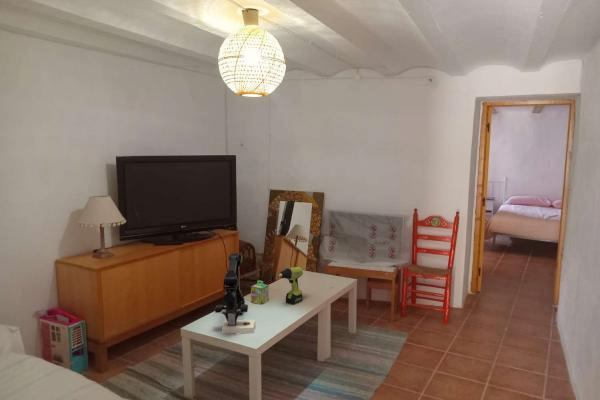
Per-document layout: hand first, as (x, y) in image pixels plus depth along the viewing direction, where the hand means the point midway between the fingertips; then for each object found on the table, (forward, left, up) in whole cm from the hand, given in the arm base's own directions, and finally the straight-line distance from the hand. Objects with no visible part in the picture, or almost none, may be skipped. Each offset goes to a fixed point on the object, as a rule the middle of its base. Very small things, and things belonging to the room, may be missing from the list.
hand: (232, 322), depth 258 cm
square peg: (0, 0, -2) cm, 3 cm away
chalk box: (-45, +13, -4) cm, 47 cm away
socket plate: (0, +4, -4) cm, 6 cm away
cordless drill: (-40, +34, -4) cm, 53 cm away
